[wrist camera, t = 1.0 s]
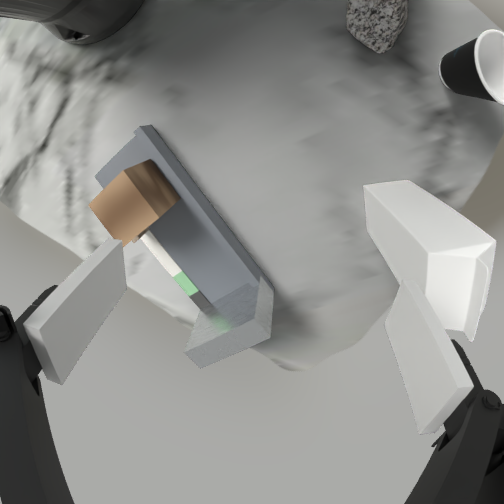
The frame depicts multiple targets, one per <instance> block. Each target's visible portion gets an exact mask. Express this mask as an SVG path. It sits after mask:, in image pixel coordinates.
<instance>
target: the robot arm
mask: <svg viewBox="0 0 504 504" xmlns="http://www.w3.org/2000/svg"><path fill="white" fill-rule="evenodd" d="M142 2H143V0H0V17H6V18H14V19H22V20H28V21H35V22H39V23H41V24H42V25H43V26H45V27H46V28H47V29H48V30H49V31H50V32H51V33H53V34H54V35H55V36H56V37H57V38H59V39H61V40H63V41H66V42H70V43H75V44H90V43H94V42H98V41H100V40H103V39H105V38H107V37H108V36H110V35H112V34H113V33H115V32H116V31H118V30H119V29H120V28H121V27H123V26H124V25H125V24H126V23H127V22H128V21H129V20H130V19H131V18H132V17H133V15H134V14H135V13H136V12H137V10H138V9H139V7H140V6H141V4H142ZM126 290H127V285H126V276H125V267H124V256H123V244H122V240H117V239H111V238H108V239H107V240H106V241H105V242H104V243H103V244H101V245H100V246H99V247H98V248H97V249H96V250H95V251H94V252H93V253H92V254H91V255H90V256H89V257H88V258H86V259H85V260H84V261H83V262H82V263H81V264H80V265H79V266H78V267H77V268H76V269H75V270H74V271H73V272H72V273H71V274H70V275H69V276H68V277H67V278H66V279H65V280H64V281H63V282H62V283H61V284H60V285H59V286H58V285H54V286H52V287H50V288H49V289H47V290H45V291H44V292H43V293H42V294H41V295H40V296H39V297H38V299H36V300H35V301H34V302H33V303H32V305H31V306H30V307H28V308H27V310H26V311H25V312H24V313H23V314H22V315H21V316H20V317H19V318H18V319H17V320H16V321H15V322H14V320H13V317H12V315H11V312H10V310H9V308H7V307H6V306H2V305H0V497H1V501H2V504H74V502H73V499H72V497H71V494H70V491H69V488H68V486H67V483H66V480H65V477H64V474H63V471H62V468H61V465H60V462H59V459H58V455H57V452H56V449H55V445H54V441H53V438H52V434H51V430H50V426H49V422H48V417H47V413H46V408H45V403H44V398H43V393H42V388H41V382H40V379H39V376H38V374H39V373H40V371H41V370H42V369H43V372H44V374H45V376H46V378H47V379H48V380H51V381H53V382H56V383H58V384H60V385H63V384H64V382H65V380H66V379H67V377H68V375H69V374H70V372H71V371H72V369H73V368H74V366H75V365H76V363H77V361H78V360H79V358H80V357H81V355H82V353H83V352H84V351H85V349H86V348H87V346H88V344H89V343H90V342H91V340H92V339H93V337H94V335H95V334H96V333H97V331H98V330H99V328H100V327H101V325H102V324H103V323H104V321H105V319H106V318H107V317H108V315H109V314H110V312H111V311H112V310H113V308H114V307H115V305H116V304H117V303H118V301H119V300H120V298H121V297H122V296H123V294H124V293H125V291H126ZM384 327H385V330H386V332H387V335H388V338H389V340H390V343H391V346H392V349H393V352H394V355H395V358H396V361H397V364H398V366H399V369H400V372H401V375H402V378H403V382H404V385H405V388H406V391H407V394H408V397H409V401H410V404H411V407H412V411H413V414H414V417H415V421H416V425H417V428H418V432H419V434H420V435H421V434H429V433H435V432H436V431H437V430H438V429H439V428H440V427H441V426H442V424H444V427H445V430H446V431H445V432H444V433H443V434H442V435H441V436H440V437H439V438H438V439H437V440H436V442H434V443H433V445H432V447H434V446H435V445H436V444H437V446H436V448H435V450H434V452H433V454H432V456H431V458H430V460H429V462H428V464H427V466H426V468H425V469H424V471H423V473H422V475H421V477H420V478H419V480H418V482H417V484H416V485H415V487H414V489H413V491H412V492H411V494H410V495H409V497H408V499H407V500H406V502H405V503H404V504H504V404H502V403H501V400H500V398H499V397H498V396H497V395H496V394H495V393H494V392H492V391H490V390H484V389H483V387H482V385H481V383H480V381H479V379H478V377H477V375H476V373H475V371H474V369H473V367H472V366H471V365H470V364H471V363H470V361H469V359H468V358H467V356H466V354H465V352H464V350H463V348H462V347H461V346H460V345H459V344H458V343H457V342H456V341H455V340H450V338H449V336H448V334H447V333H446V331H445V329H444V327H443V325H442V324H441V322H440V320H439V318H438V317H437V315H436V313H435V312H434V310H433V308H432V307H431V305H430V303H429V302H428V300H427V298H426V297H425V295H424V293H423V292H422V290H421V289H420V287H419V285H418V284H417V282H416V281H411V280H404V279H402V282H401V284H400V287H399V289H398V292H397V295H396V297H395V300H394V302H393V305H392V307H391V309H390V312H389V314H388V317H387V319H386V321H385V324H384Z"/></svg>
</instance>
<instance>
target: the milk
mask: <svg viewBox="0 0 504 504" xmlns="http://www.w3.org/2000/svg"><path fill="white" fill-rule="evenodd" d="M363 190H364V200H365V212H366V226H367V232H368V234H369V235H370V237H371V238H372V240H373V242H374V243H375V245H376V246H377V248H378V250H379V251H380V253H381V254H382V256H383V258H384V259H385V261H386V263H387V264H388V266H389V268H390V269H391V271H392V273H393V274H394V276H395V278H396V279H397V281H398V283H399V285H400V284H401V282H402V279H404V280H411V281H416V282H417V284H418V285H419V287H420V289H421V290H422V292H423V293H424V295H425V297H426V298H427V300H428V302H429V303H430V305H431V307H432V308H433V310H434V312H435V313H436V315H437V317H438V318H439V320H440V322H441V324H442V325H443V327H444V329H449V330H456V331H462V332H464V334H465V335H466V337H467V338H468V340H469V341H470V342H473V341H474V337H475V334H476V330H477V326H478V323H479V318H480V314H481V313H482V312H483V311H484V309H485V305H486V301H487V296H488V291H489V286H490V281H491V275H492V269H493V263H494V256H495V249H496V240H495V239H493V238H492V237H491V236H490V235H488V234H487V233H486V232H484V231H483V230H482V229H480V228H479V227H478V226H476V225H475V224H474V223H472V222H471V221H469V220H468V219H467V218H465V217H464V216H463V215H461V214H460V213H458V212H457V211H455V210H454V209H453V208H451V207H450V206H448V205H447V204H445V203H444V202H442V201H441V200H439V199H438V198H436V197H435V196H433V195H432V194H430V193H428V192H427V191H425V190H424V189H422V188H421V187H419V186H417V185H416V184H414V183H413V182H411V181H409V180H401V181H392V182H383V183H375V184H366V185H363Z"/></svg>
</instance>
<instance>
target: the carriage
mask: <svg viewBox="0 0 504 504" xmlns="http://www.w3.org/2000/svg"><path fill="white" fill-rule="evenodd" d="M180 199H181V198H180V197H179V195H178V194H177V193H176V191H175V190H174V189H173V187H172V186H171V185H170V184H169V182H168V181H167V180H166V178H165V177H164V176H163V174H162V173H161V172H160V170H159V169H158V168H157V166H156V165H155V164H154V162H153V161H152V160H151V159H149V160H146V161H144V162H142V163H139V164H137V165H134V166H132V167H129V168H127V169H125V170H123V171H122V172H121V173H120V174H119V175H118V176H117V177H116V178H115V179H113V180H112V181H111V182H110V183H109V184H108V185H107V186H106V187H105V188H104V189H103V190H102V191H101V192H100V193H99V194H98V195H97V197H96V198H95V199H94V200H93V201H92V202H91V203H90V204H89V207H90V208H91V209H92V211H93V212H94V214H95V215H96V216H97V218H98V219H99V220H100V221H101V223H102V224H103V225H104V227H105V228H106V229H107V231H108V232H109V233H110V234H111V236H112V237H113V238H114V239H117V240H122V244H123V247H124V246H125V245H126V244H128V243H129V242H130V241H131V240H132V242H133V243H135V242H136V241H137V240H139V239H140V238H141V237H142V236H143V235H144V234H145V233H146V232H147V231H148V230H149V229H150V228H149V227H148V226H150V225H151V224H152V223H154V222H155V221H156V220H157V219H159V218H160V217H161V216H162V215H163V214H164V213H165V212H166V211H167V210H169V209H170V208H171V207H172V206H173V205H174V204H175V203H176V202H177V201H179V200H180Z"/></svg>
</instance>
